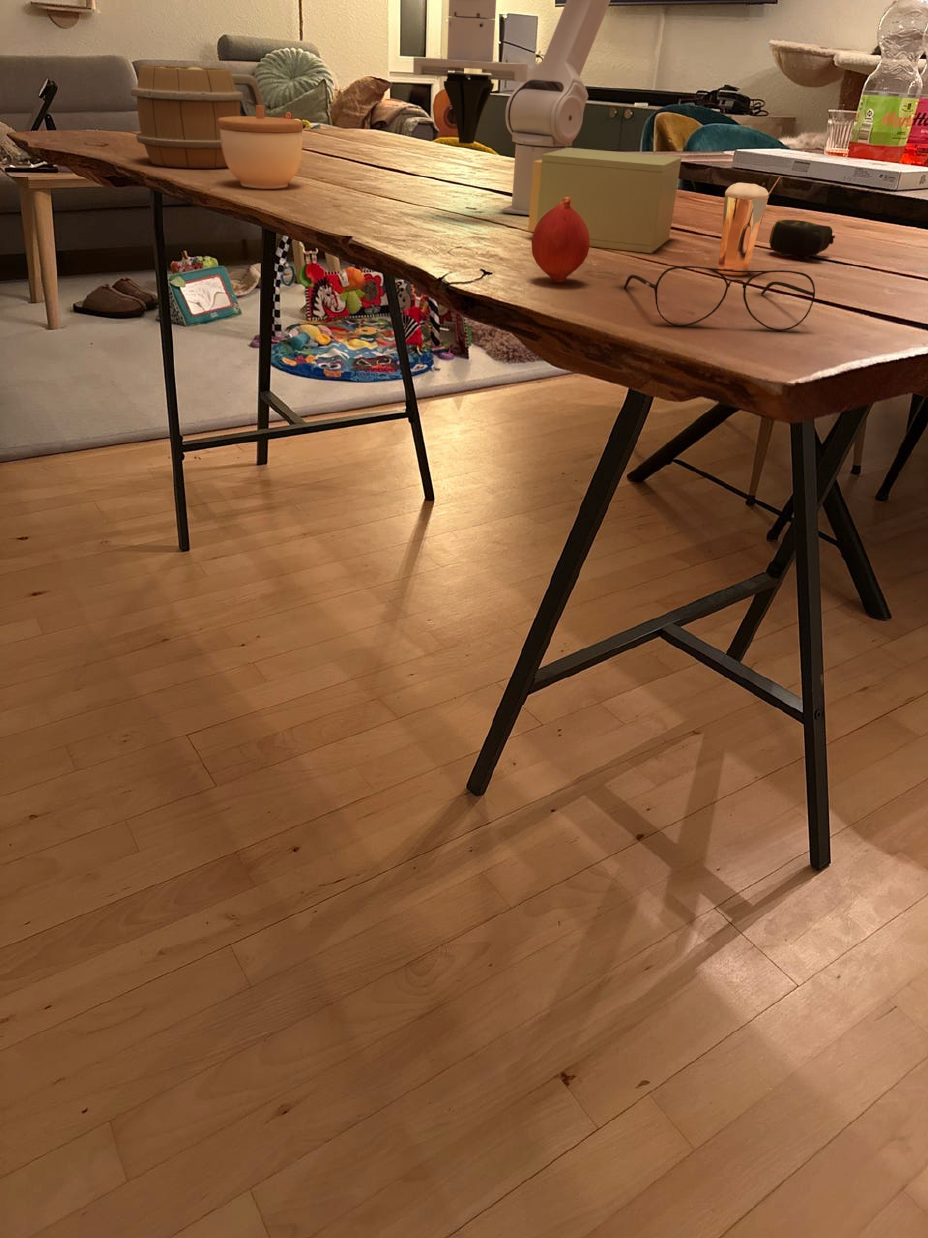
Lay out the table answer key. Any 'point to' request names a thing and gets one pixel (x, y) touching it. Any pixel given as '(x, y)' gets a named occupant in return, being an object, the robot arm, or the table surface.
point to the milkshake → (741, 225)
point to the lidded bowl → (261, 149)
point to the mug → (188, 112)
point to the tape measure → (800, 238)
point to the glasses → (729, 286)
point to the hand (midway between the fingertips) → (466, 142)
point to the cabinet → (613, 195)
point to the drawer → (534, 195)
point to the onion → (560, 241)
